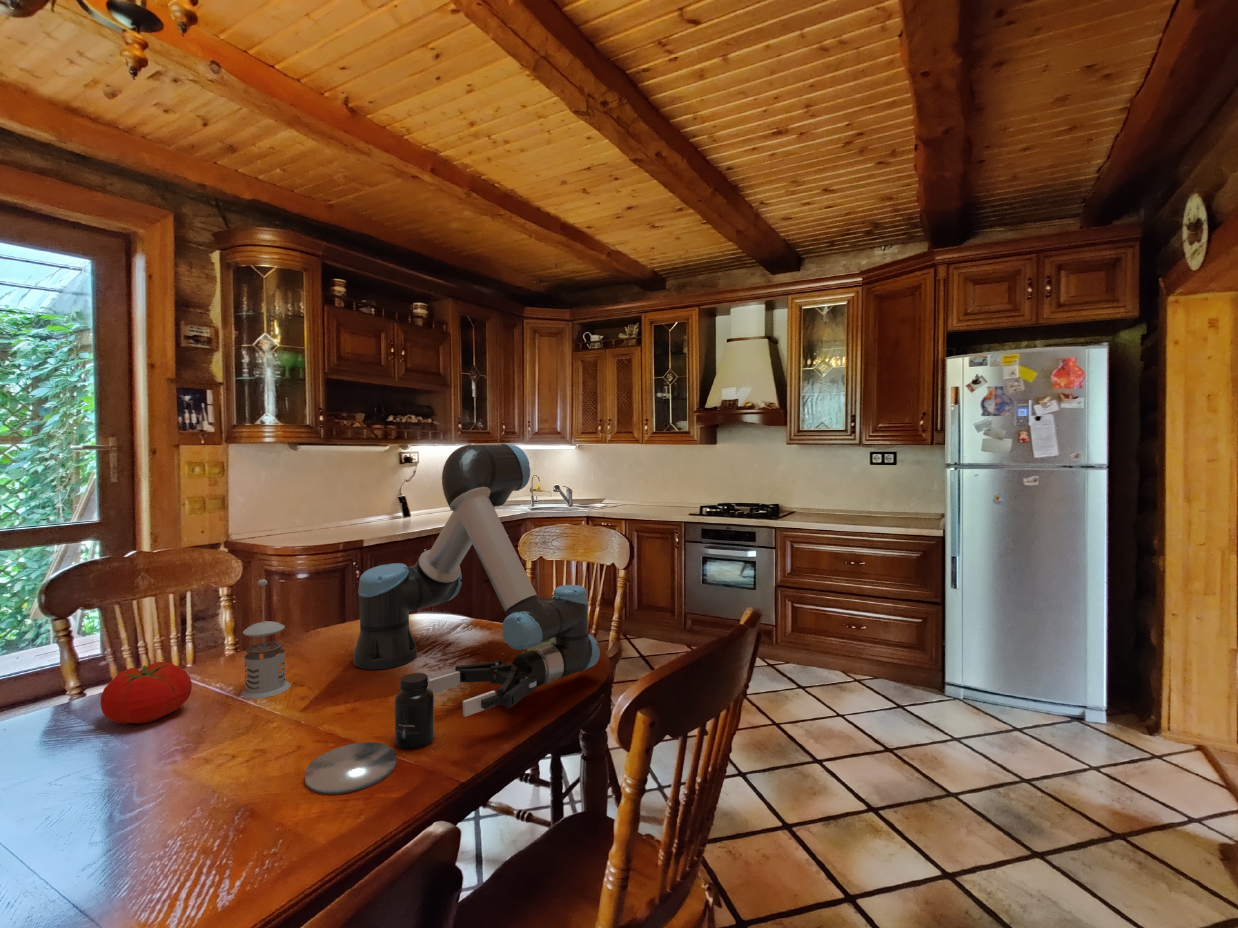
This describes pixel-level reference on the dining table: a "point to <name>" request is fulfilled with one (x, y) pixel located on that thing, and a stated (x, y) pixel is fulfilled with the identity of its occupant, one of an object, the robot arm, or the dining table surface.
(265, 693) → the french press
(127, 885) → the dining table surface
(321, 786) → the hub disc
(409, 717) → the supplement bottle
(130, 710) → the tomato
